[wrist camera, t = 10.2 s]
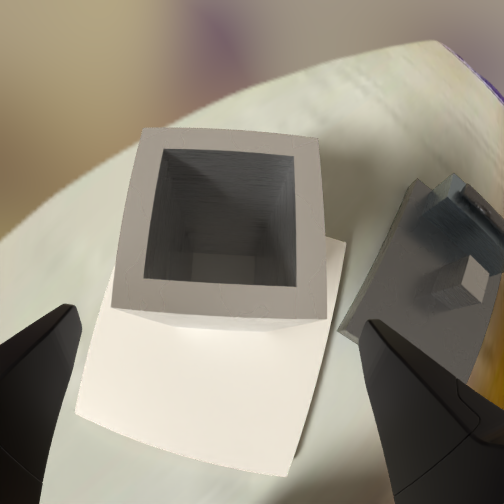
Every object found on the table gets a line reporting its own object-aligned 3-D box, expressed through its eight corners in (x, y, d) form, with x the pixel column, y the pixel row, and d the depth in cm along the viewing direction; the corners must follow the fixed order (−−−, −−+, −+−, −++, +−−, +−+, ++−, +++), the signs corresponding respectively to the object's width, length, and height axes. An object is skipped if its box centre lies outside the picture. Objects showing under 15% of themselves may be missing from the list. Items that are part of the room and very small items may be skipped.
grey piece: (446, 401, 19) (498, 409, 13) (336, 330, 20) (379, 325, 14) (494, 262, 23) (538, 244, 17) (408, 186, 24) (447, 149, 18)
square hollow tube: (266, 331, 18) (327, 319, 7) (175, 327, 18) (110, 307, 7) (267, 244, 20) (318, 138, 9) (181, 239, 19) (143, 128, 9)
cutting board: (282, 468, 17) (286, 477, 15) (83, 409, 17) (74, 413, 15) (338, 249, 22) (346, 242, 20) (150, 195, 21) (146, 185, 20)
